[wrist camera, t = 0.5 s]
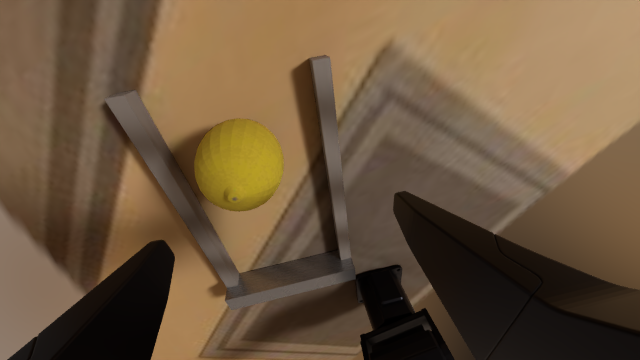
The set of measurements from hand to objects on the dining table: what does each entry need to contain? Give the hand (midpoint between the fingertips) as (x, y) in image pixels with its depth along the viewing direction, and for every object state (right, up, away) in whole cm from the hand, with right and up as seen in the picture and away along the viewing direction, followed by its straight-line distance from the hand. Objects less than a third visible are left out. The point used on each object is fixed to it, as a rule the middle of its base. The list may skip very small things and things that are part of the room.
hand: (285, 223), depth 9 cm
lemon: (-5, +5, +10) cm, 12 cm away
